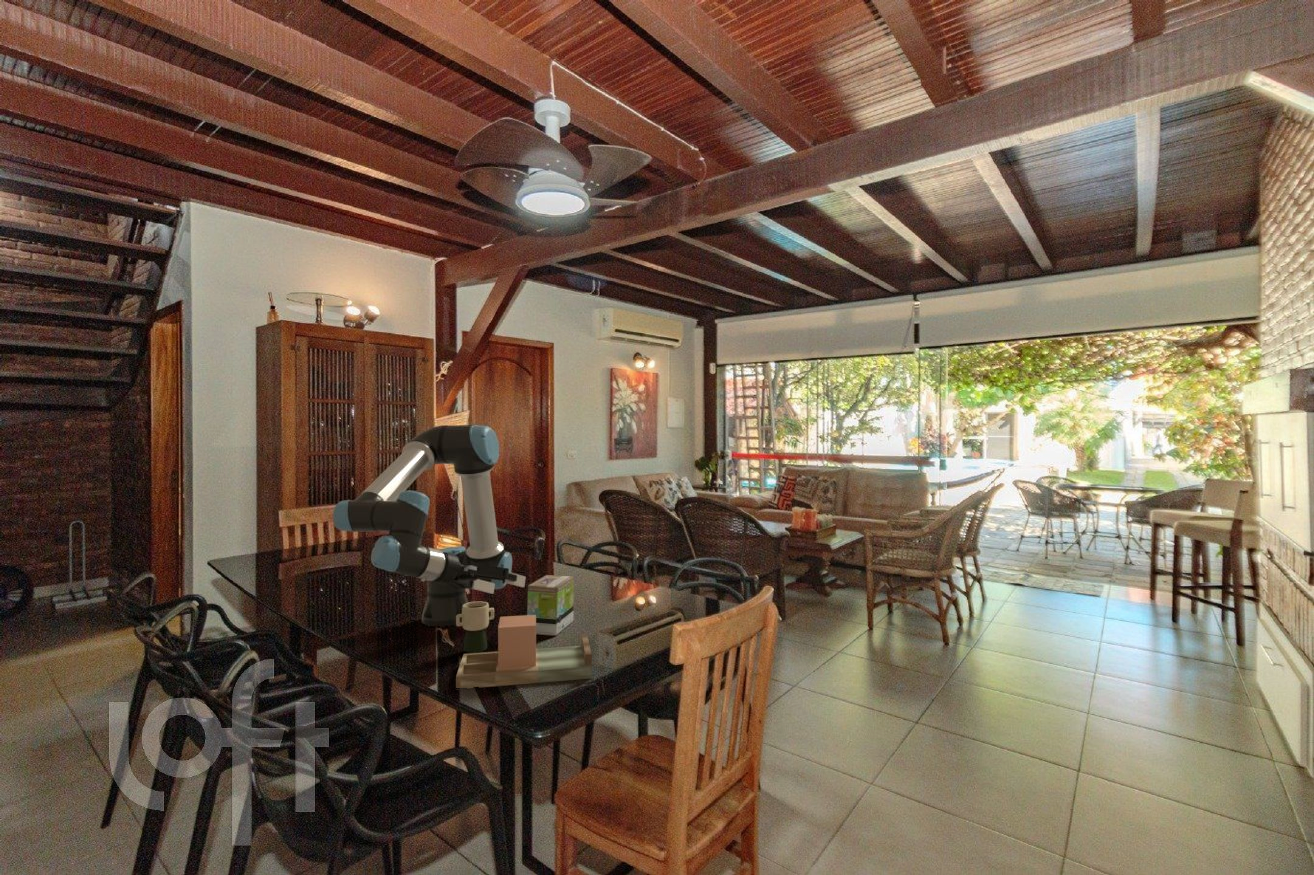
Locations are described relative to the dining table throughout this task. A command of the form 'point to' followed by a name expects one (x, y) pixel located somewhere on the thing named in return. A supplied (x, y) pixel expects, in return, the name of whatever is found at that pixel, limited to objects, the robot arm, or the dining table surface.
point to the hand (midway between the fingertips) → (508, 585)
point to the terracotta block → (517, 641)
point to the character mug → (475, 625)
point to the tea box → (551, 603)
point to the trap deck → (548, 667)
